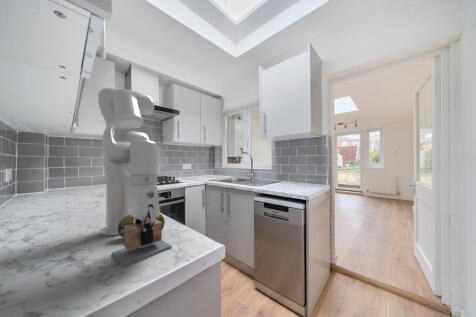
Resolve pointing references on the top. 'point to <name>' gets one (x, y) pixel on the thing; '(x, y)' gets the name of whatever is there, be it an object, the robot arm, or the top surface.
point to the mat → (139, 253)
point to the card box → (134, 235)
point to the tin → (129, 221)
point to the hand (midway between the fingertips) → (143, 240)
